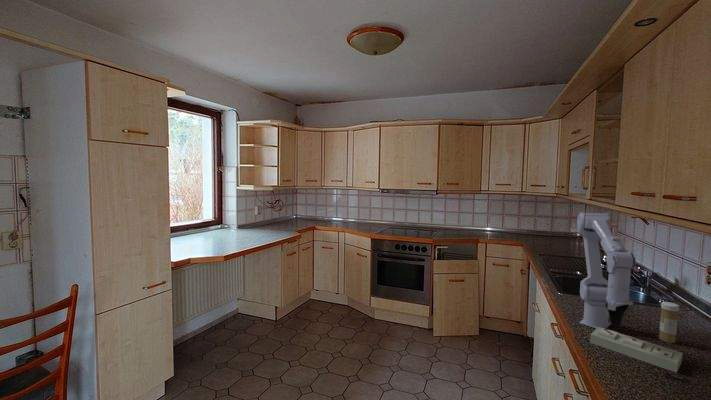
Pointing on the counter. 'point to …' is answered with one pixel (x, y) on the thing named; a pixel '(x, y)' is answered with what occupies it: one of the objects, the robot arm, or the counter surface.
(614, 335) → the tile three pips
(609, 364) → the counter surface
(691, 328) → the counter surface
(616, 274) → the robot arm
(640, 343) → the tile one pip
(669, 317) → the sprinkles bottle
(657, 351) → the tile two pips
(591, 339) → the button board
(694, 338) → the counter surface
